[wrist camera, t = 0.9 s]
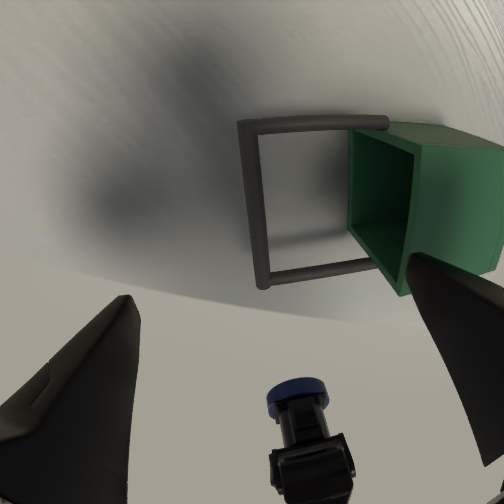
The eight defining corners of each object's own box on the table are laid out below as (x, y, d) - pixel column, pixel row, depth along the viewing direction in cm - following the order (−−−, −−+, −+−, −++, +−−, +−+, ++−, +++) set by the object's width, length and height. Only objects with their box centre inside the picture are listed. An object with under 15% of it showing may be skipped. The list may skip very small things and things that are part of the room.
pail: (444, 115, 15) (523, 141, 9) (433, 227, 19) (491, 279, 13) (233, 115, 14) (242, 131, 8) (250, 252, 18) (265, 334, 12)
